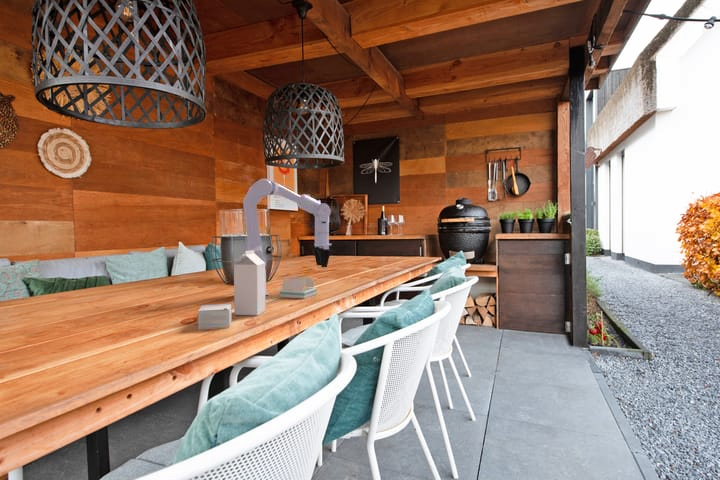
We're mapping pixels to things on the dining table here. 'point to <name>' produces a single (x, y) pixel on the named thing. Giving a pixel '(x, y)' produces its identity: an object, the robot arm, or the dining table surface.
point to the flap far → (308, 281)
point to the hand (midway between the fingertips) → (321, 266)
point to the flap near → (293, 284)
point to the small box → (214, 316)
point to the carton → (298, 293)
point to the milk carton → (249, 285)
